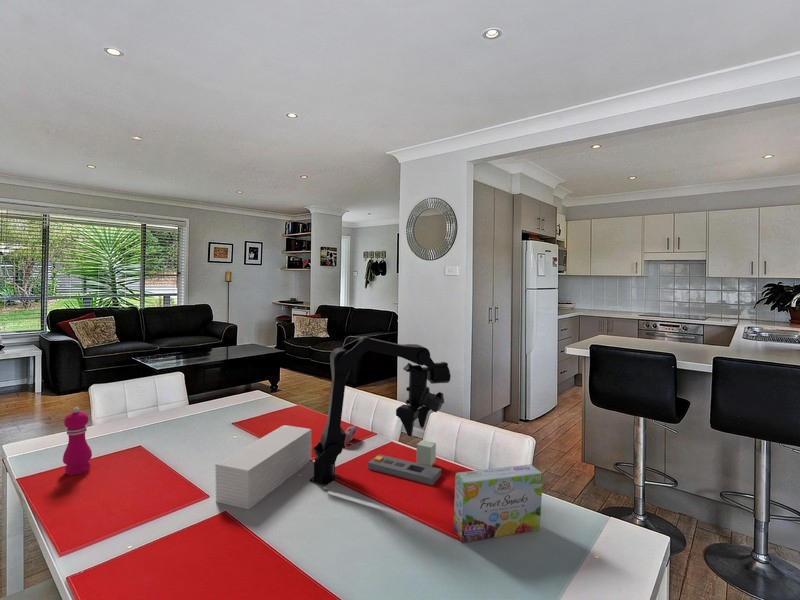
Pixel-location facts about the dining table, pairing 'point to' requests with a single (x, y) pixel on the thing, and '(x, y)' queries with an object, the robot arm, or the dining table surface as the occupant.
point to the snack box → (497, 502)
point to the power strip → (405, 469)
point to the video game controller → (350, 433)
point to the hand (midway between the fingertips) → (416, 431)
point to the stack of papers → (262, 466)
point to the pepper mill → (76, 443)
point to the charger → (426, 453)
